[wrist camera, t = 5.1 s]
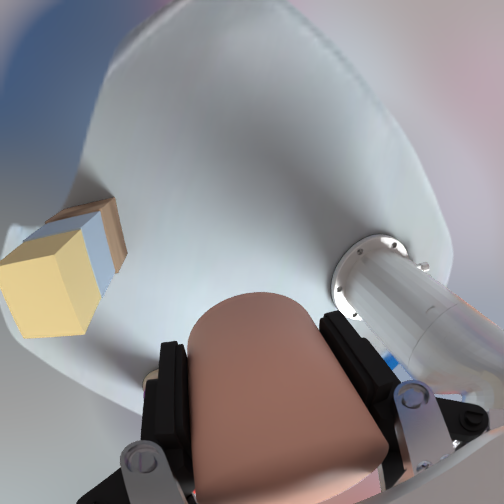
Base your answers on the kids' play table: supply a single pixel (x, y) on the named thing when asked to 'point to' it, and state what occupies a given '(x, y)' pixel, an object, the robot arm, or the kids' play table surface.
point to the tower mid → (86, 243)
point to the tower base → (109, 223)
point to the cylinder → (273, 408)
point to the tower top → (50, 286)
